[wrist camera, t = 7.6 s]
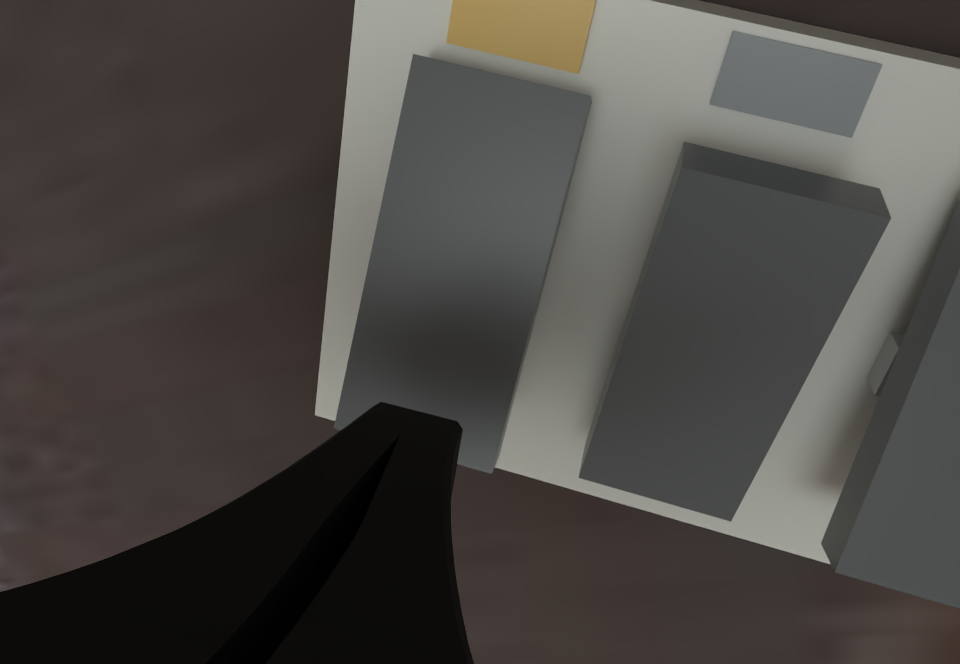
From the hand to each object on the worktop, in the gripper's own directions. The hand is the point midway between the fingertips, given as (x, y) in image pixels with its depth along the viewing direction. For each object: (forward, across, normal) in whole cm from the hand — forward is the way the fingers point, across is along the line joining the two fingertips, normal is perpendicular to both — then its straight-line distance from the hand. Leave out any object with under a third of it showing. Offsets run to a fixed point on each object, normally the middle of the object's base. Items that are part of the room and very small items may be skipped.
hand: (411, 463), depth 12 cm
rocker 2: (+6, -5, 0) cm, 8 cm away
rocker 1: (+6, +1, 0) cm, 6 cm away
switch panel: (+10, -5, 0) cm, 11 cm away
